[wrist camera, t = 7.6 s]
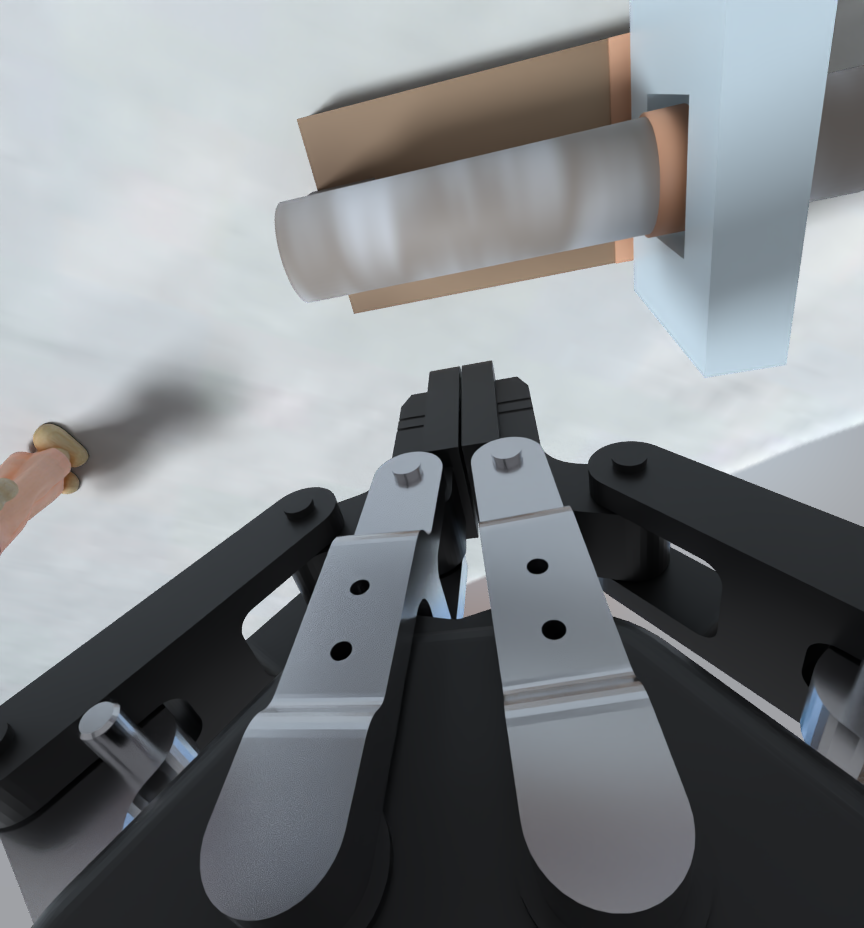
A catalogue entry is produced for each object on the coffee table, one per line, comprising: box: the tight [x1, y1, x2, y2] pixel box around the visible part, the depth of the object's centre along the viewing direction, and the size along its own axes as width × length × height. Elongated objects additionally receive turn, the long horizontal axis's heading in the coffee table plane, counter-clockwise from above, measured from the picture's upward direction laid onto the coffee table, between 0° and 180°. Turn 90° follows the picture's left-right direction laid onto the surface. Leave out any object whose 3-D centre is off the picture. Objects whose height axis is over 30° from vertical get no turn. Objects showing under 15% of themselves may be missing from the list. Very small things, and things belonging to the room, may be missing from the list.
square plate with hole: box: [630, 0, 838, 378], centre depth 15 cm, size 9×2×8 cm, turn 12°
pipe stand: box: [275, 32, 864, 314], centre depth 18 cm, size 7×16×8 cm, turn 102°
